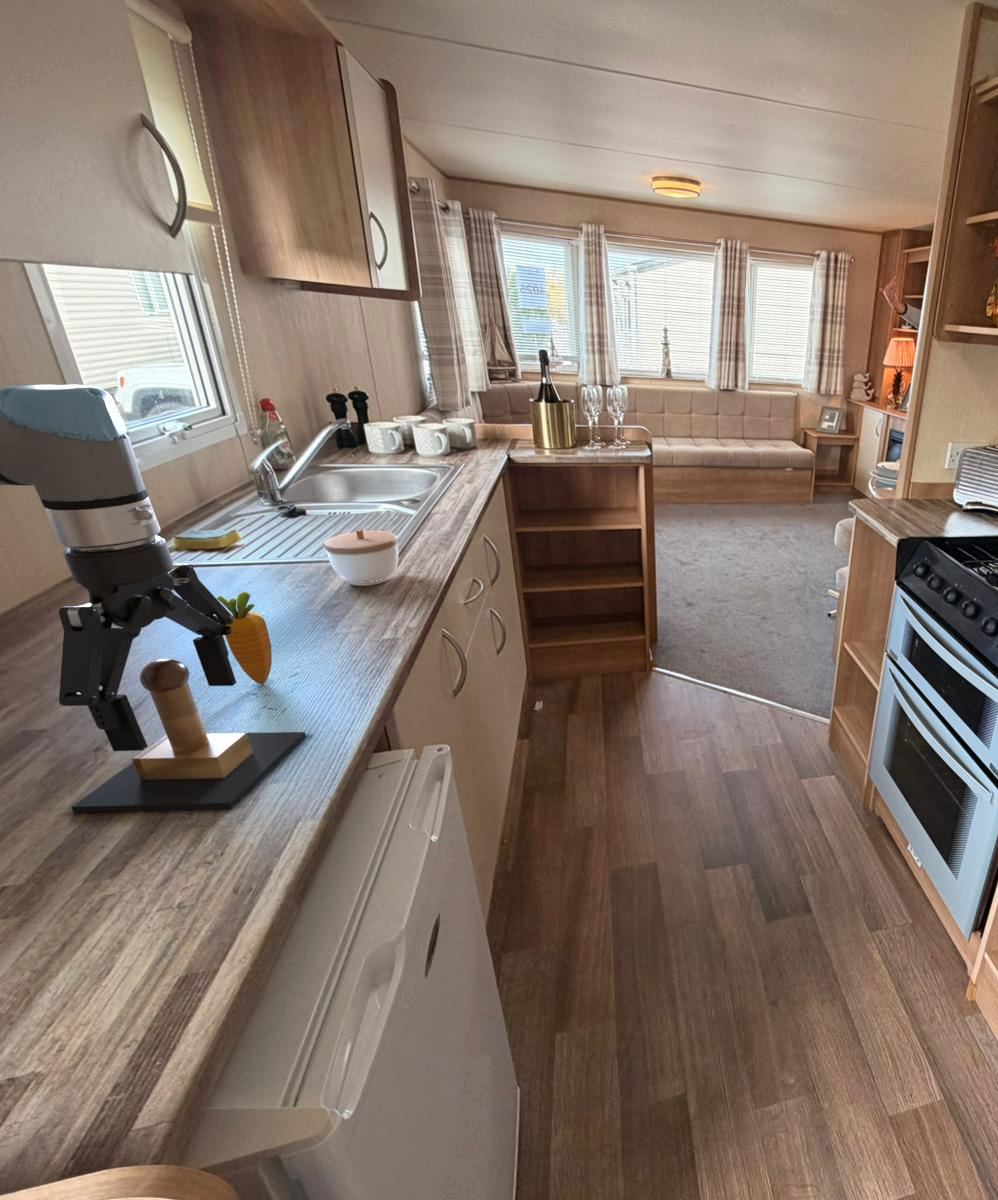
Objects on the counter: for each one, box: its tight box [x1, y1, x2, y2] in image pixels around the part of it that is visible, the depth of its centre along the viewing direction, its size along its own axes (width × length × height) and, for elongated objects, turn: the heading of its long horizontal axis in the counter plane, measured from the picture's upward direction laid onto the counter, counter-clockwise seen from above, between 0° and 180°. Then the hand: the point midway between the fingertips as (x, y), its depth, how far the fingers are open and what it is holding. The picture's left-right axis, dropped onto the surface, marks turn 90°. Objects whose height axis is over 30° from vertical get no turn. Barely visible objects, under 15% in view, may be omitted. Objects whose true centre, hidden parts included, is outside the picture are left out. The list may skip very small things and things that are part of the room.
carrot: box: [216, 591, 273, 686], centre depth 93 cm, size 5×5×15 cm
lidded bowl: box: [323, 529, 399, 587], centre depth 134 cm, size 13×13×11 cm
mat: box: [70, 731, 307, 814], centre depth 77 cm, size 16×14×1 cm
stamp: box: [131, 658, 253, 780], centre depth 75 cm, size 9×5×14 cm, turn 96°
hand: (180, 714), depth 74 cm, fingers open, 13 cm apart
